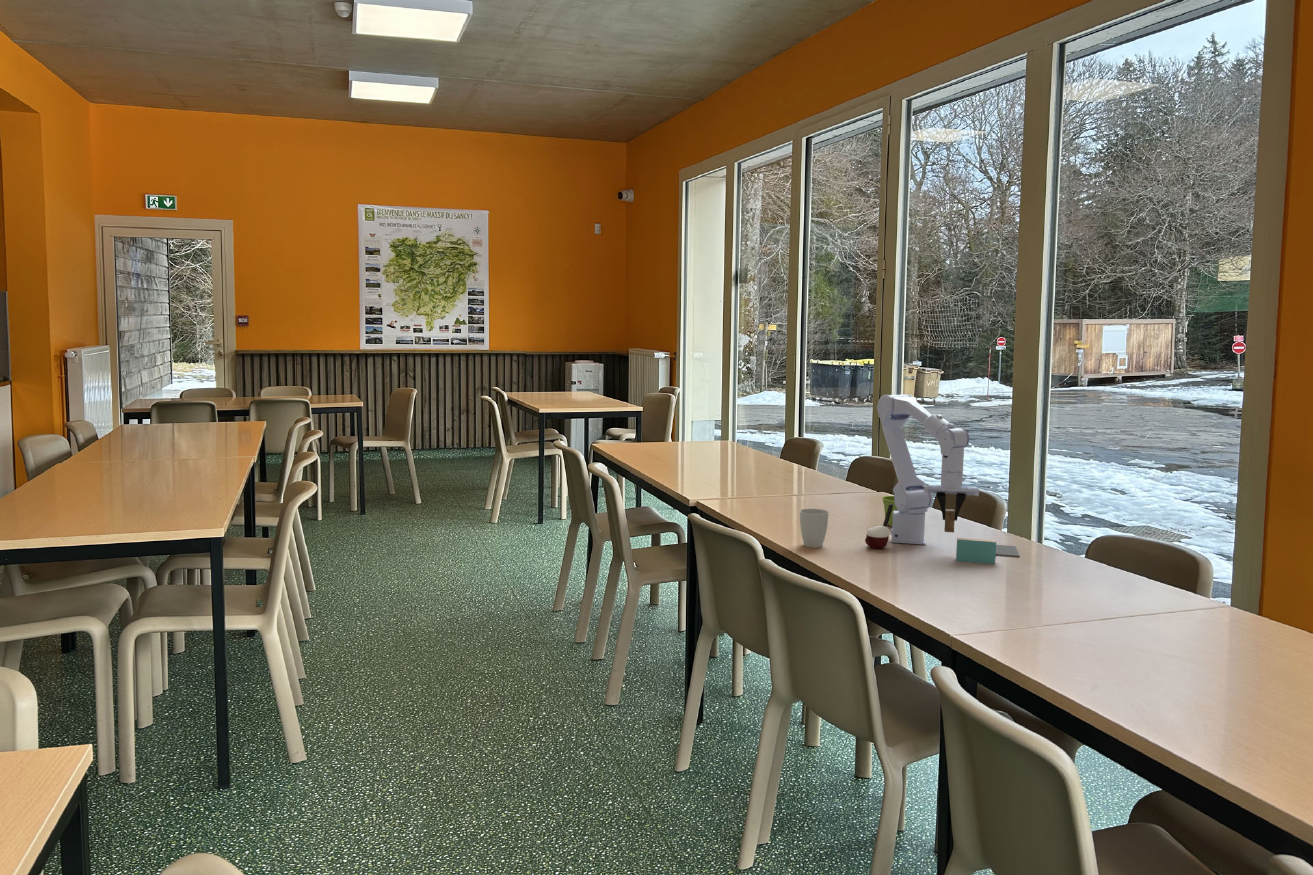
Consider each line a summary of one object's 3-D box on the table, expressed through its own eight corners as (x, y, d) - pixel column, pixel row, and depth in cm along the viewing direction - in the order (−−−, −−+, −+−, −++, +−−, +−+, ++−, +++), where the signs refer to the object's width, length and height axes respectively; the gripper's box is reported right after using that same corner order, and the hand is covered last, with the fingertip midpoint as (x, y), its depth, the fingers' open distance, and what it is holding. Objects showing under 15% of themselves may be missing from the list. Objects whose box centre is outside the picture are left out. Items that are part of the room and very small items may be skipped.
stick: (944, 531, 263) (945, 510, 263) (944, 530, 266) (945, 509, 265) (953, 532, 263) (955, 511, 262) (953, 530, 265) (954, 509, 264)
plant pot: (908, 522, 305) (909, 496, 304) (913, 528, 296) (914, 501, 295) (878, 521, 306) (879, 495, 305) (882, 527, 297) (883, 500, 296)
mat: (973, 553, 264) (973, 552, 264) (971, 544, 276) (971, 542, 276) (1019, 557, 261) (1019, 555, 261) (1015, 547, 273) (1015, 546, 273)
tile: (956, 561, 256) (957, 539, 256) (955, 559, 258) (956, 537, 257) (995, 564, 254) (996, 542, 253) (994, 562, 256) (995, 540, 255)
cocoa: (866, 551, 267) (867, 510, 265) (859, 545, 273) (859, 505, 271) (899, 549, 268) (899, 508, 266) (890, 543, 274) (891, 503, 272)
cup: (826, 542, 275) (827, 509, 274) (828, 549, 267) (829, 514, 266) (798, 541, 276) (799, 508, 275) (799, 548, 268) (800, 513, 267)
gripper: (924, 472, 261) (922, 520, 262) (980, 474, 257) (977, 524, 258) (925, 468, 267) (922, 515, 269) (979, 471, 263) (976, 519, 265)
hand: (949, 519), depth 264 cm, fingers closed on stick, 2 cm apart
